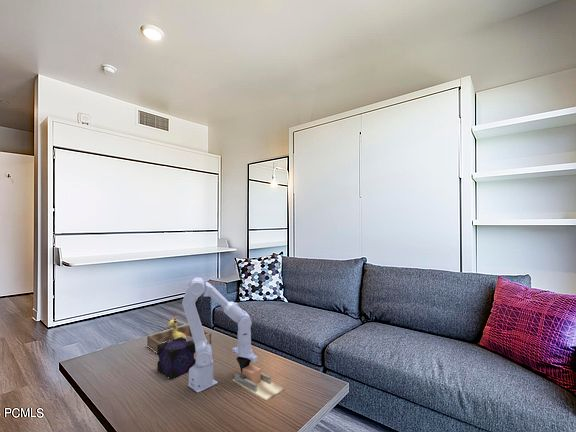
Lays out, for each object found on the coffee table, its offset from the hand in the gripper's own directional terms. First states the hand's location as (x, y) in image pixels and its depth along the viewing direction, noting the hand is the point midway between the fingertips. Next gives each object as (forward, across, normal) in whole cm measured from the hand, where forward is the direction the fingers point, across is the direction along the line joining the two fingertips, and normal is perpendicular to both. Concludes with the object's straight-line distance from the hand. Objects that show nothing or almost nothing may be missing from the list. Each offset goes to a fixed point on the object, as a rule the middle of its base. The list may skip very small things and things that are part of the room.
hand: (244, 373), depth 129 cm
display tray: (+2, +53, +2) cm, 53 cm away
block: (+2, -5, 0) cm, 5 cm away
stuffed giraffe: (+2, +53, +2) cm, 53 cm away
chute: (+2, -8, 0) cm, 9 cm away
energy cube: (+2, +29, +16) cm, 33 cm away
